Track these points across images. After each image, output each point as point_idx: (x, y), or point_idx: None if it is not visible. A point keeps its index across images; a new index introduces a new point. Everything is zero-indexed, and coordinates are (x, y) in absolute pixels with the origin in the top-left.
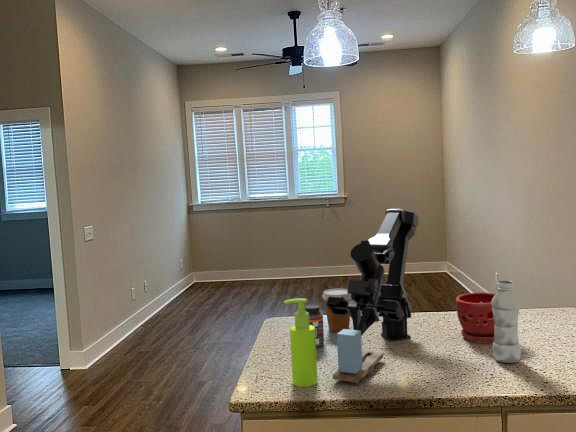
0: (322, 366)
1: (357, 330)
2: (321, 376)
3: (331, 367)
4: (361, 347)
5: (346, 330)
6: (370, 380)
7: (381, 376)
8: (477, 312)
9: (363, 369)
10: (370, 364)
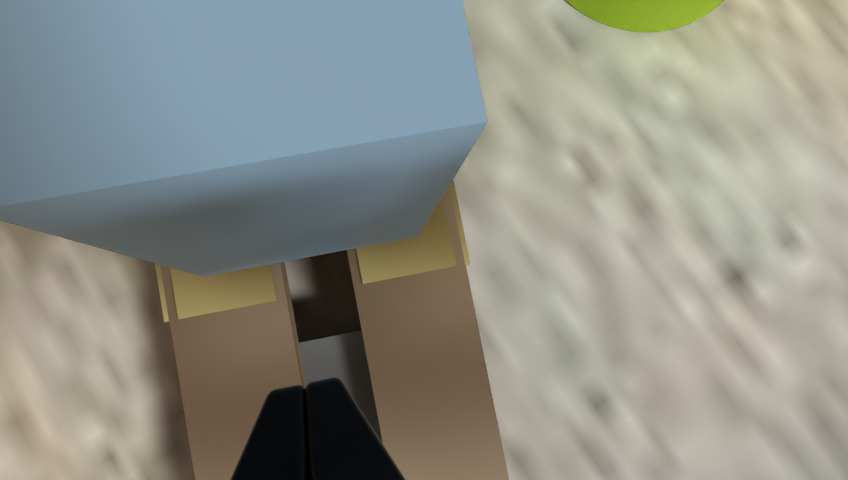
0: (748, 324)
1: (68, 182)
2: (596, 106)
3: (657, 352)
4: (125, 253)
5: (343, 43)
6: (131, 277)
7: (82, 430)
8: None
9: (194, 280)
10: (207, 468)
